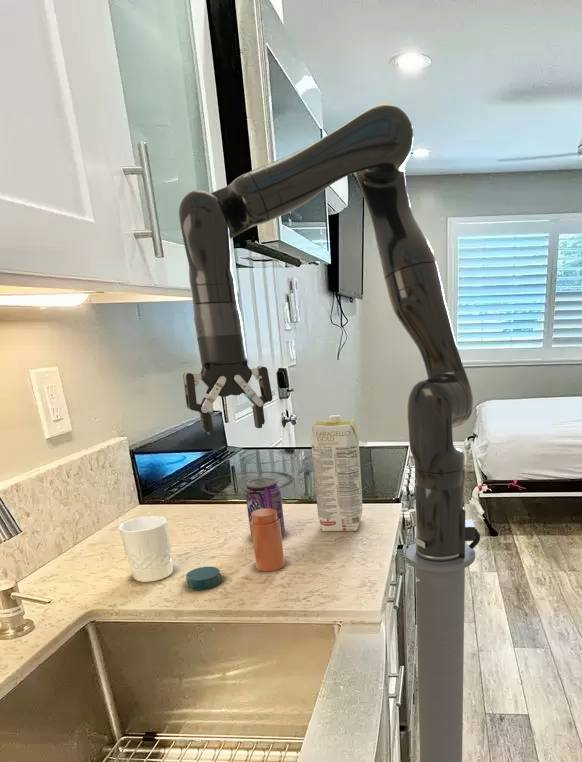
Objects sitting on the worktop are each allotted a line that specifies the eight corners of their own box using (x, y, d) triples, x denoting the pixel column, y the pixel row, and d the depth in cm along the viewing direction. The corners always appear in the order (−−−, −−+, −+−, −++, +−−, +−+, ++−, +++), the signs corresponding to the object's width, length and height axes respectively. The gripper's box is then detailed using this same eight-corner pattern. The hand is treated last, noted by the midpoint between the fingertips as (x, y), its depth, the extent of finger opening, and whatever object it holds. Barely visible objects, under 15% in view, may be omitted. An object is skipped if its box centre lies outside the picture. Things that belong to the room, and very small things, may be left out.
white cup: (183, 573, 105) (174, 522, 101) (140, 587, 100) (128, 534, 96) (165, 561, 110) (155, 512, 106) (123, 574, 105) (111, 524, 101)
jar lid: (185, 580, 102) (183, 571, 101) (217, 573, 104) (215, 564, 104) (190, 592, 97) (189, 582, 97) (224, 585, 100) (222, 575, 99)
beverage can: (247, 534, 122) (240, 480, 118) (280, 528, 125) (273, 475, 121) (256, 545, 116) (248, 488, 112) (289, 538, 119) (283, 483, 115)
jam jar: (287, 559, 109) (281, 507, 105) (281, 571, 104) (274, 516, 100) (260, 560, 109) (253, 507, 105) (253, 571, 105) (245, 517, 101)
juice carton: (364, 519, 128) (358, 412, 119) (361, 532, 121) (354, 419, 112) (323, 520, 129) (314, 413, 120) (317, 533, 122) (307, 420, 113)
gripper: (255, 331, 101) (267, 423, 106) (171, 335, 94) (188, 433, 100) (269, 330, 94) (281, 428, 100) (180, 335, 88) (198, 440, 94)
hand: (235, 431), depth 100 cm, fingers open, 8 cm apart
